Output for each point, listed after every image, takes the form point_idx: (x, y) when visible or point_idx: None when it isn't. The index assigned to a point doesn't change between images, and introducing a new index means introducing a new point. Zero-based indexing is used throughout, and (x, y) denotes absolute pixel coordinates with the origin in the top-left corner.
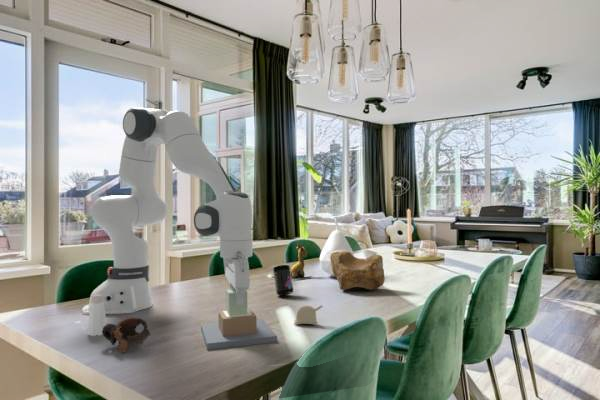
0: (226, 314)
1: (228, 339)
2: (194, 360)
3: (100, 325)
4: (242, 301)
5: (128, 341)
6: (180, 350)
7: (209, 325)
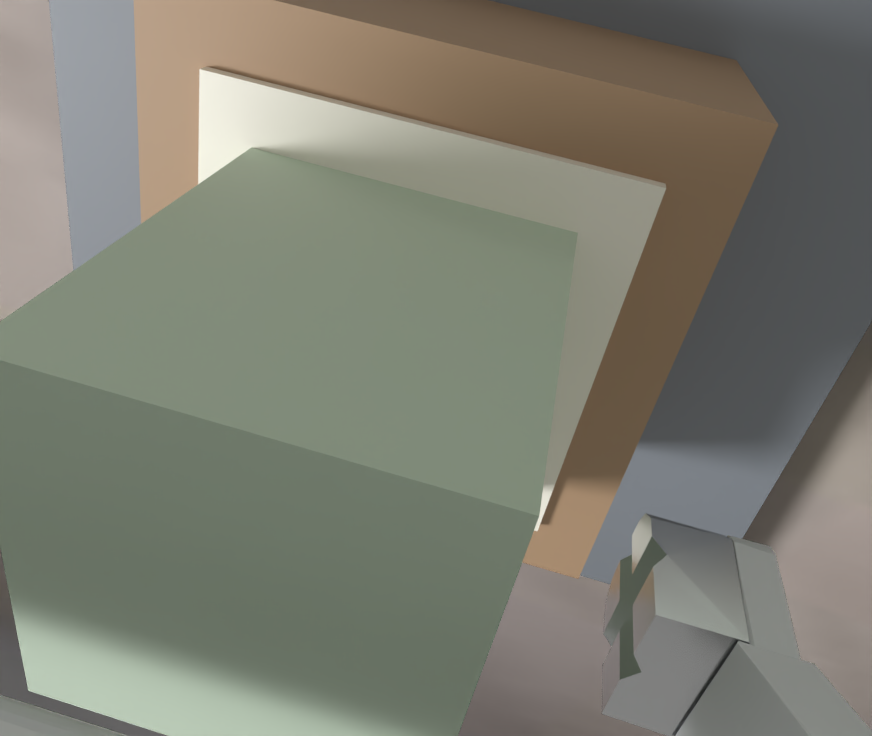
0: None
1: (727, 442)
2: (856, 701)
3: None
4: (771, 598)
5: None
6: (576, 678)
7: None
